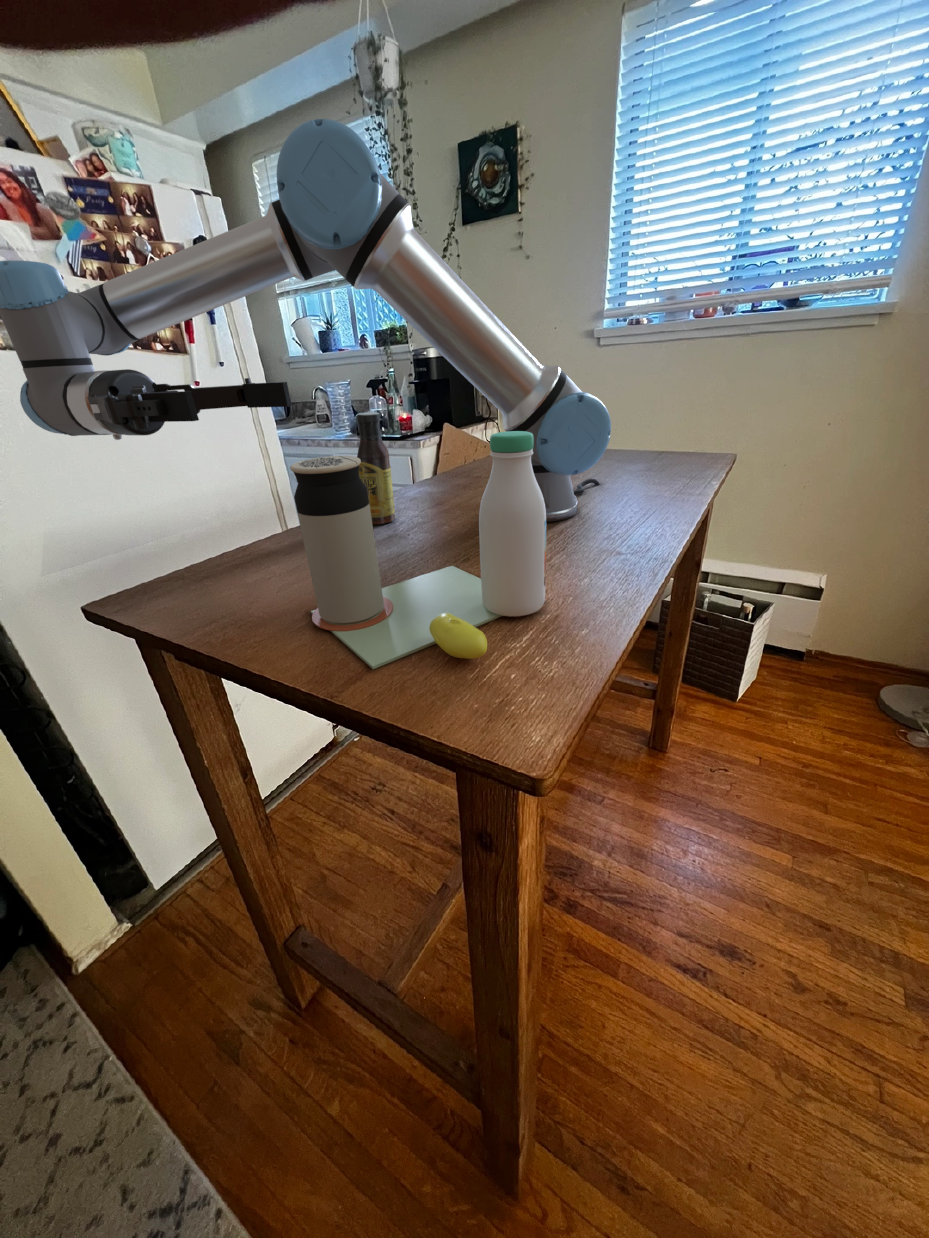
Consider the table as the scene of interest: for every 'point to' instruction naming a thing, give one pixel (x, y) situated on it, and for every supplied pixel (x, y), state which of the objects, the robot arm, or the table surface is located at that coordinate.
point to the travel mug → (338, 538)
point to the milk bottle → (512, 529)
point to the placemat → (411, 615)
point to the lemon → (458, 637)
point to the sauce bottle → (375, 468)
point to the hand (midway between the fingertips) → (244, 399)
